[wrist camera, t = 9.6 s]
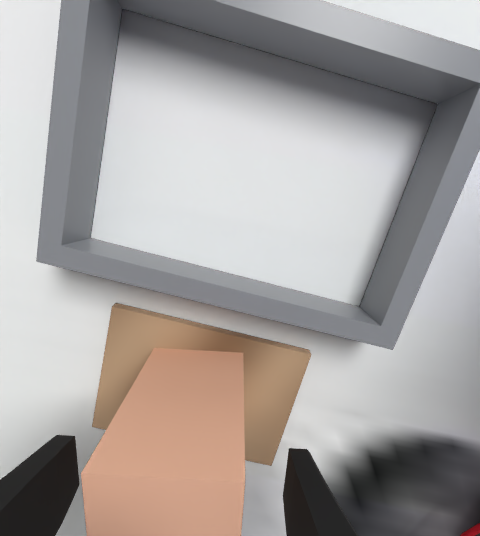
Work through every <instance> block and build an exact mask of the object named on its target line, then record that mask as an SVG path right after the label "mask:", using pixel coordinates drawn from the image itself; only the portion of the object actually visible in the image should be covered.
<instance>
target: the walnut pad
mask: <svg viewBox="0 0 480 536" xmlns="http://www.w3.org/2000/svg"><path fill="white" fill-rule="evenodd" d="M154 348H165V349H183V350H202V351H221V352H239V353H243V362H244V435H245V460H247V461H252V462H256V463H261V464H265V465H270V466H271V465H272V463H273V460H274V457H275V454H276V451H277V449H278V446H279V443H280V440H281V438H282V435H283V432H284V429H285V426H286V424H287V421H288V418H289V415H290V412H291V410H292V407H293V404H294V401H295V399H296V396H297V393H298V390H299V387H300V385H301V382H302V379H303V376H304V374H305V371H306V368H307V365H308V362H309V360H310V357H311V353H310V351H309V350H307V349H303V348H299V347H295V346H291V345H287V344H283V343H279V342H274V341H270V340H266V339H262V338H258V337H254V336H250V335H246V334H242V333H237V332H233V331H229V330H225V329H221V328H217V327H213V326H209V325H205V324H201V323H196V322H192V321H188V320H184V319H180V318H176V317H172V316H168V315H164V314H159V313H155V312H151V311H147V310H143V309H139V308H135V307H131V306H127V305H123V304H118V303H115V304H114V305H113V306H112V310H111V316H110V322H109V328H108V334H107V340H106V346H105V352H104V358H103V364H102V370H101V376H100V382H99V388H98V394H97V400H96V406H95V412H94V418H93V424H92V427H96V428H100V429H105V430H107V428H108V426H109V424H110V423H111V421H112V419H113V418H114V416H115V414H116V412H117V411H118V409H119V407H120V406H121V404H122V402H123V400H124V399H125V397H126V395H127V394H128V392H129V390H130V388H131V387H132V385H133V383H134V382H135V380H136V378H137V376H138V375H139V373H140V371H141V369H142V368H143V366H144V364H145V363H146V361H147V359H148V357H149V356H150V354H151V352H152V351H153V349H154Z"/></svg>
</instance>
